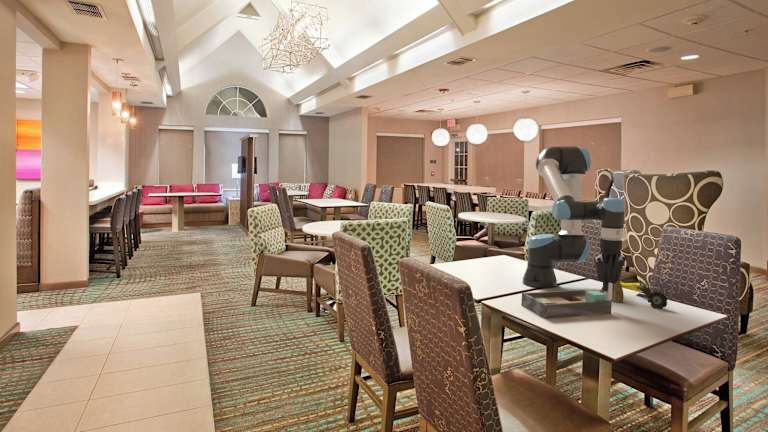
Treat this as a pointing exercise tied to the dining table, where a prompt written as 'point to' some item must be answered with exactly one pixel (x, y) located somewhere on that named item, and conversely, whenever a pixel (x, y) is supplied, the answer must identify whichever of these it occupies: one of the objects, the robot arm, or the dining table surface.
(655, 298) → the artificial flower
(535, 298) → the trap board
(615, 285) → the rock
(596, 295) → the block
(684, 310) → the dining table surface
